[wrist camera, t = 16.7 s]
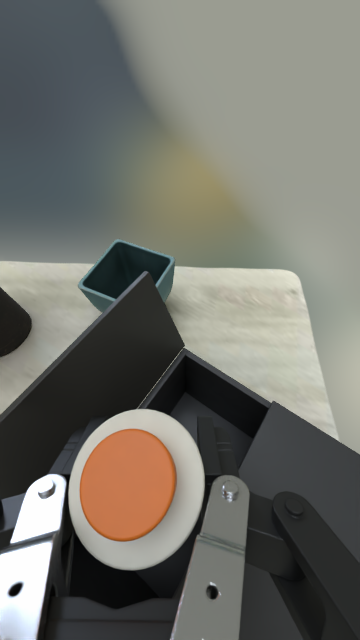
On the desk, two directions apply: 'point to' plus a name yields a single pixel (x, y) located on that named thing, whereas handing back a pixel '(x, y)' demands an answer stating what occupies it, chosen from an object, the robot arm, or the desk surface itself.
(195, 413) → the carton
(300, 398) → the desk surface
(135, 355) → the flap
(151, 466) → the orange-capped white cylinder
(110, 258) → the flower pot
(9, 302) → the container
